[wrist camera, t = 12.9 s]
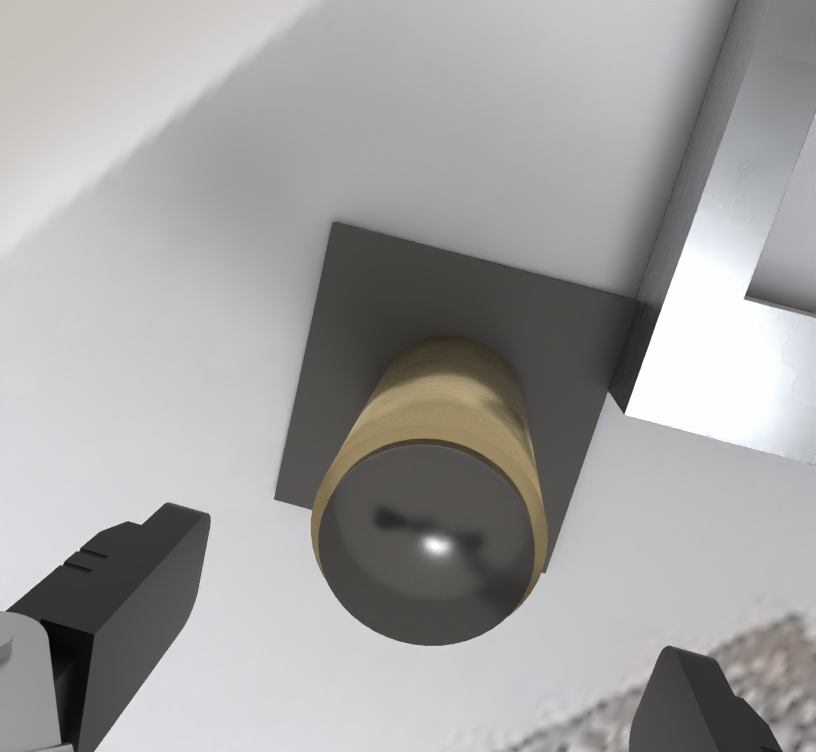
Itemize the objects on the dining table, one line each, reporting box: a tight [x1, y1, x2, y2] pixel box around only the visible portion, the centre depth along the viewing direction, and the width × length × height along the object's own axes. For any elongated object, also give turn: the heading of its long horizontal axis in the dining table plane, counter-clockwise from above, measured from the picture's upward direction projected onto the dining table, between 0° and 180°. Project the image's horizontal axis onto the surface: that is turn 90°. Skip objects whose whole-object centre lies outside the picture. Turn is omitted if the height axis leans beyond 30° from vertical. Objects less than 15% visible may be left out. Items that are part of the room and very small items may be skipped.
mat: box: [274, 222, 638, 573], centre depth 23 cm, size 10×10×1 cm
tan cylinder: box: [311, 336, 548, 646], centre depth 19 cm, size 5×5×10 cm
